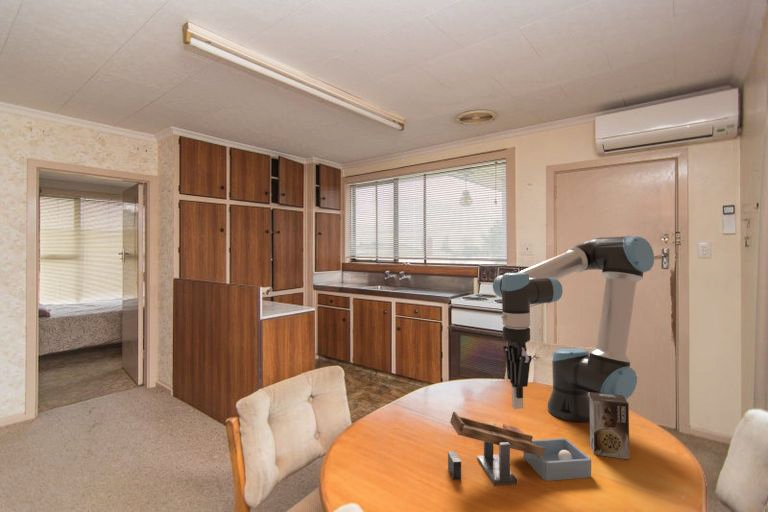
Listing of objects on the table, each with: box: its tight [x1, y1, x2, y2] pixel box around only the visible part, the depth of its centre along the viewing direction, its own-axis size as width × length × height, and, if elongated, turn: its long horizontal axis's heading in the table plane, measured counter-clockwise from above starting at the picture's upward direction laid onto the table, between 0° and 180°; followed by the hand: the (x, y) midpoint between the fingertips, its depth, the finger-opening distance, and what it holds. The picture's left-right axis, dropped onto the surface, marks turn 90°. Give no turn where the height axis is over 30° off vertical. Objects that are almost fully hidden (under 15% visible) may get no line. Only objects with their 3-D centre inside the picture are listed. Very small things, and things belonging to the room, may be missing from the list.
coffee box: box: [589, 392, 631, 460], centre depth 109 cm, size 9×6×16 cm
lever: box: [449, 411, 545, 457], centre depth 103 cm, size 24×15×3 cm, turn 97°
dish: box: [522, 437, 592, 482], centre depth 102 cm, size 13×12×4 cm
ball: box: [558, 450, 573, 460], centre depth 102 cm, size 4×4×4 cm
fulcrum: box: [447, 423, 518, 486], centre depth 99 cm, size 16×12×10 cm
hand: (517, 407), depth 108 cm, fingers closed
